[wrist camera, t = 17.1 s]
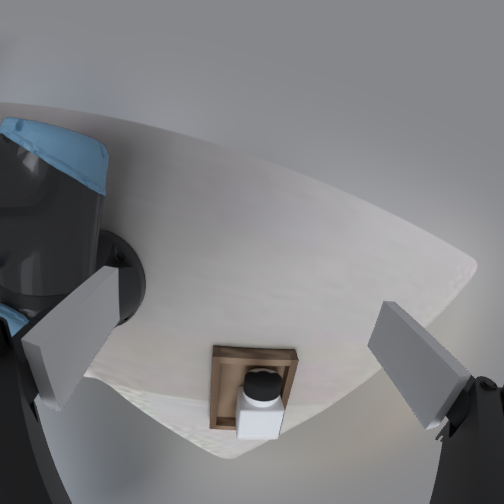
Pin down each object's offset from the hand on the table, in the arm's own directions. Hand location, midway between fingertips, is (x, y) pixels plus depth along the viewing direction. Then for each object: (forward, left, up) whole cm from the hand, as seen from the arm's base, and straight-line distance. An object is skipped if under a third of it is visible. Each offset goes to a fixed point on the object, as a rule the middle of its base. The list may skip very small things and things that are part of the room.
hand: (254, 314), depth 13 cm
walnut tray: (+5, -30, -27) cm, 40 cm away
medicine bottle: (+6, -35, -22) cm, 42 cm away
